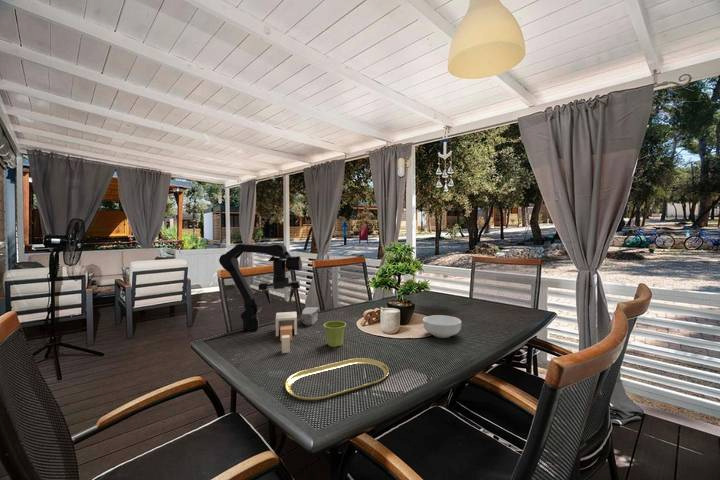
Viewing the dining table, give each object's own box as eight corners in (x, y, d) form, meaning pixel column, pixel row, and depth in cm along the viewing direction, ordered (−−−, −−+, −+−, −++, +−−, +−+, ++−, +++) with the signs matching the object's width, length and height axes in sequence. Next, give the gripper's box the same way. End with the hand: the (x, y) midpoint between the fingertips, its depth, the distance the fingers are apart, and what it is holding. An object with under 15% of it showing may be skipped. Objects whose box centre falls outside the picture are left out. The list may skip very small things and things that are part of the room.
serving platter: (277, 381, 102) (277, 376, 102) (369, 358, 120) (369, 354, 120) (296, 410, 86) (296, 404, 86) (400, 378, 103) (400, 374, 103)
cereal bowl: (457, 329, 151) (457, 314, 151) (465, 342, 135) (465, 325, 135) (421, 328, 153) (421, 314, 153) (424, 340, 137) (424, 324, 136)
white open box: (275, 336, 143) (275, 318, 143) (276, 329, 153) (276, 312, 152) (297, 334, 145) (296, 317, 145) (296, 327, 155) (296, 311, 154)
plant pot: (343, 349, 127) (343, 328, 127) (320, 348, 129) (320, 327, 129) (348, 341, 136) (348, 321, 136) (327, 339, 138) (327, 320, 138)
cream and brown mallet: (279, 353, 124) (279, 338, 123) (280, 337, 142) (280, 324, 141) (292, 352, 125) (292, 337, 124) (292, 336, 143) (292, 323, 142)
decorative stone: (317, 318, 173) (298, 318, 170) (317, 305, 172) (299, 306, 170) (321, 326, 158) (301, 327, 156) (322, 312, 158) (301, 313, 155)
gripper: (257, 273, 140) (257, 308, 141) (299, 272, 144) (300, 306, 145) (259, 270, 151) (260, 302, 152) (299, 269, 155) (299, 300, 156)
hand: (279, 303), depth 151 cm, fingers open, 9 cm apart
